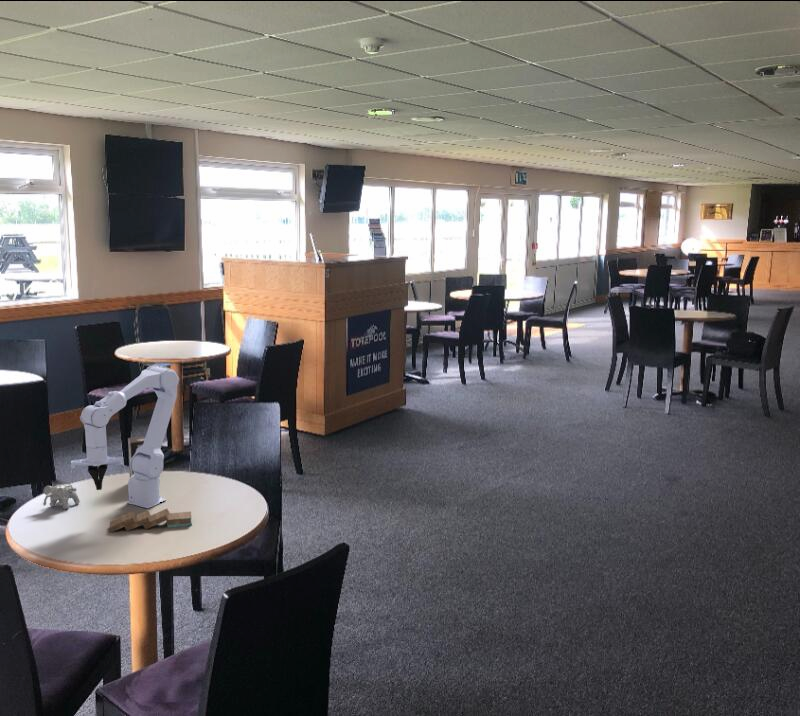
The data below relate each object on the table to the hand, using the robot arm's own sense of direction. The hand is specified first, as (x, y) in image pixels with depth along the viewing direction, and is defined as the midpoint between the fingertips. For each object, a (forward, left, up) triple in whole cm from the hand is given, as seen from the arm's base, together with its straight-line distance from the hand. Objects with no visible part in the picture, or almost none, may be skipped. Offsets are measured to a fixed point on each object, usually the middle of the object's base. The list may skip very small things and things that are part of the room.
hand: (99, 488), depth 228 cm
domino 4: (+20, +7, -8) cm, 23 cm away
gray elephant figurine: (-18, 0, -10) cm, 21 cm away
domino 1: (+8, -3, -9) cm, 13 cm away
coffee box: (-12, +29, -10) cm, 33 cm away
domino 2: (+11, -1, -9) cm, 14 cm away
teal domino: (+20, +8, -10) cm, 23 cm away
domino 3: (+15, +3, -9) cm, 18 cm away
